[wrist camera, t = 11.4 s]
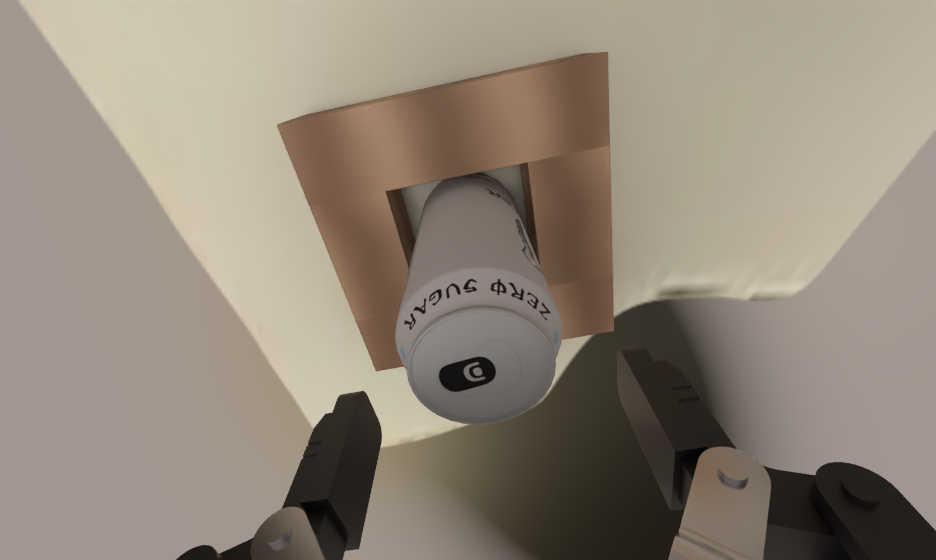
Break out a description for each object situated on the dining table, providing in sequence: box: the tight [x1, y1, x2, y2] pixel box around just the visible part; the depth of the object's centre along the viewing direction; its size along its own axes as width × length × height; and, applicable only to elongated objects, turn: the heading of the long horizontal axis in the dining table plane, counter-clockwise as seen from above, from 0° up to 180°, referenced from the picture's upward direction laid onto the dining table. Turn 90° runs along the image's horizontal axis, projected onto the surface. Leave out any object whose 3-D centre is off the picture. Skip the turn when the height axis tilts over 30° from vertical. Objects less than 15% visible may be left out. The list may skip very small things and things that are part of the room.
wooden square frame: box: [277, 52, 614, 371], centre depth 24 cm, size 16×16×4 cm
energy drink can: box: [395, 173, 562, 425], centre depth 19 cm, size 6×6×15 cm
